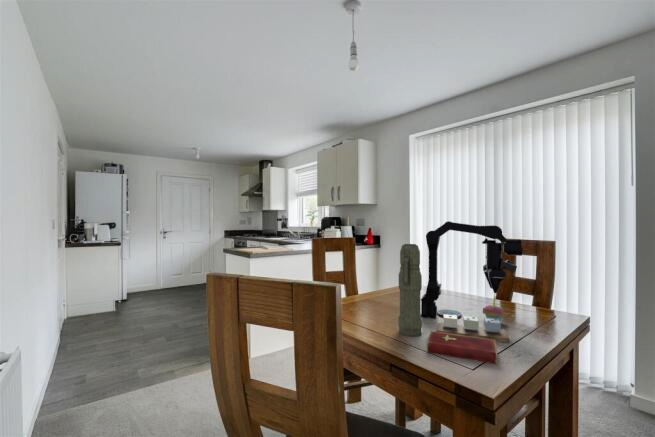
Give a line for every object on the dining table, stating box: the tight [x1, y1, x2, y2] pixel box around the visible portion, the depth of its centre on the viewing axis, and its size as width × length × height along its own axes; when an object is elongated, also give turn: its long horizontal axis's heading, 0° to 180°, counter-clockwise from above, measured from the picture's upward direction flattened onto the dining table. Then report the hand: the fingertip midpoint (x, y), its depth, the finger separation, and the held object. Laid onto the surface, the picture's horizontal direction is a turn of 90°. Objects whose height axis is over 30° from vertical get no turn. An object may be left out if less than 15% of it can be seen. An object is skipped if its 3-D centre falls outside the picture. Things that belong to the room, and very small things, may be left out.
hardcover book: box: [426, 330, 498, 365], centre depth 107 cm, size 12×21×4 cm, turn 65°
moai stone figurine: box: [398, 243, 423, 338], centre depth 125 cm, size 9×12×35 cm
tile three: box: [483, 317, 502, 331], centre depth 121 cm, size 5×5×3 cm
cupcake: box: [482, 295, 505, 322], centre depth 138 cm, size 9×8×12 cm
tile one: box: [443, 313, 458, 327], centre depth 126 cm, size 5×5×3 cm
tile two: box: [462, 315, 480, 329], centre depth 124 cm, size 5×5×3 cm
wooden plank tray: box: [436, 322, 511, 343], centre depth 124 cm, size 25×10×2 cm, turn 70°
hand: (493, 290), depth 136 cm, fingers open, 9 cm apart
